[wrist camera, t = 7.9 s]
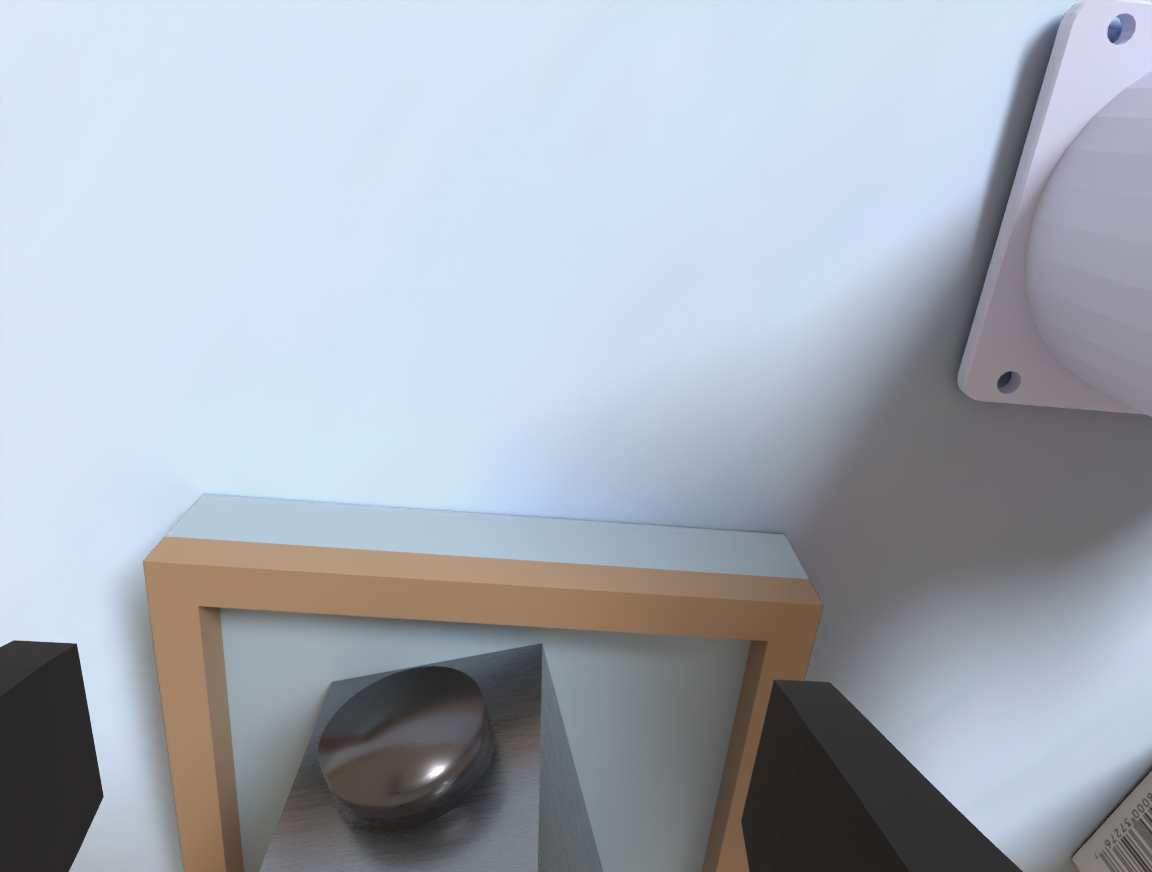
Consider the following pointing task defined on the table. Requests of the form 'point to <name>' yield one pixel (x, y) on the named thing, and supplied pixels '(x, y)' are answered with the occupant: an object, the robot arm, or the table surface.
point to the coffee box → (1122, 837)
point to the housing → (439, 775)
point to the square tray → (467, 628)
